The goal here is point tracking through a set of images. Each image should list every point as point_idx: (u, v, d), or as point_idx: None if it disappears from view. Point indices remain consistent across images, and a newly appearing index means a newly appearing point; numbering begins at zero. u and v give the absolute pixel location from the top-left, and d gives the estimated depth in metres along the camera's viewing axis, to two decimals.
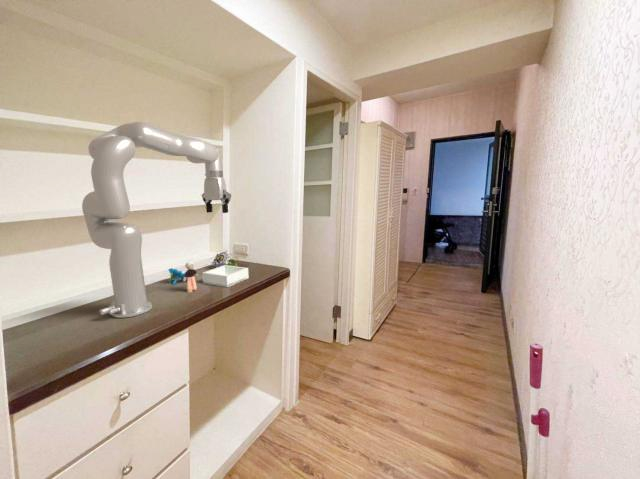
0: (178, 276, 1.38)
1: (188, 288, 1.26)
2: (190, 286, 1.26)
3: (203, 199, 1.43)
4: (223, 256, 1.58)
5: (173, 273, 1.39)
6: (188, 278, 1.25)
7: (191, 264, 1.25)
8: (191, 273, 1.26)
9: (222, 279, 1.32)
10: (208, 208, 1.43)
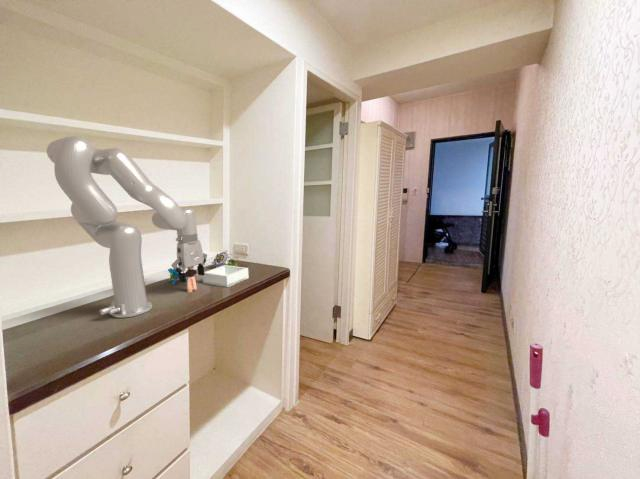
0: (177, 276, 1.38)
1: (188, 288, 1.26)
2: (190, 286, 1.26)
3: (178, 269, 1.20)
4: (223, 256, 1.58)
5: (173, 273, 1.39)
6: (188, 278, 1.25)
7: None
8: (191, 273, 1.26)
9: (222, 279, 1.32)
10: None
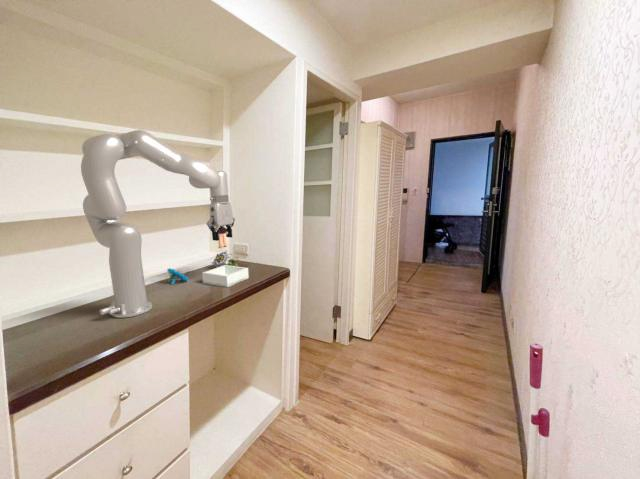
0: (176, 276, 1.37)
1: (220, 244, 1.35)
2: (222, 242, 1.36)
3: (212, 227, 1.30)
4: (223, 256, 1.58)
5: (172, 273, 1.39)
6: (220, 235, 1.35)
7: None
8: (222, 230, 1.35)
9: (222, 279, 1.32)
10: None
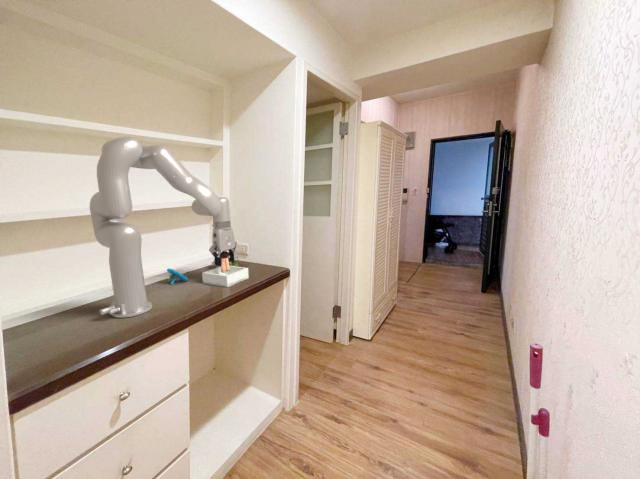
0: (176, 276, 1.37)
1: (222, 268, 1.38)
2: (224, 267, 1.38)
3: (215, 253, 1.32)
4: None
5: (172, 273, 1.39)
6: (222, 259, 1.37)
7: None
8: (225, 255, 1.37)
9: (222, 279, 1.32)
10: None
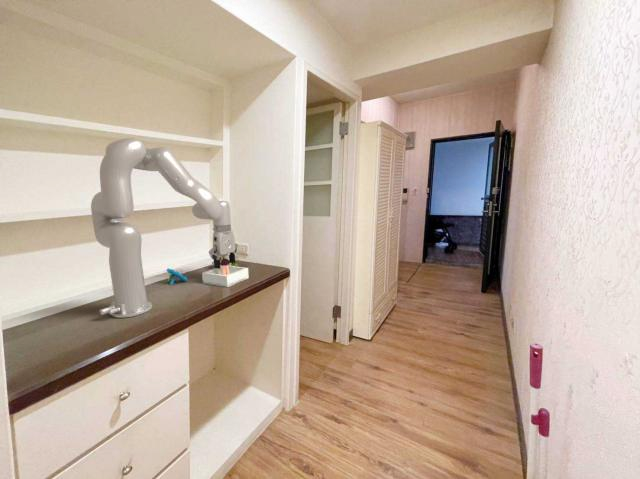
0: (175, 277, 1.37)
1: None
2: (224, 274, 1.39)
3: (214, 256, 1.31)
4: None
5: (171, 273, 1.39)
6: (223, 266, 1.38)
7: (226, 254, 1.38)
8: (225, 262, 1.38)
9: (222, 279, 1.32)
10: None
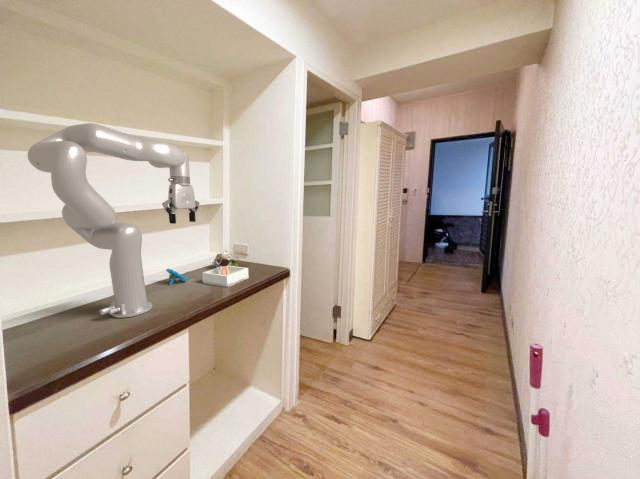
0: (175, 277, 1.37)
1: None
2: (224, 274, 1.39)
3: (168, 208, 1.21)
4: None
5: (171, 273, 1.39)
6: (223, 267, 1.38)
7: (225, 254, 1.38)
8: (225, 262, 1.38)
9: (222, 279, 1.32)
10: None
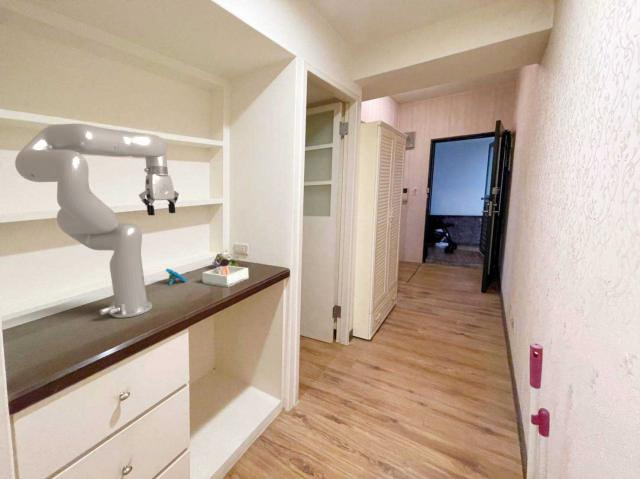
0: (174, 277, 1.37)
1: None
2: (224, 274, 1.39)
3: (145, 200, 1.17)
4: None
5: (171, 273, 1.39)
6: (223, 267, 1.38)
7: (225, 254, 1.38)
8: (225, 262, 1.38)
9: (222, 279, 1.32)
10: None
